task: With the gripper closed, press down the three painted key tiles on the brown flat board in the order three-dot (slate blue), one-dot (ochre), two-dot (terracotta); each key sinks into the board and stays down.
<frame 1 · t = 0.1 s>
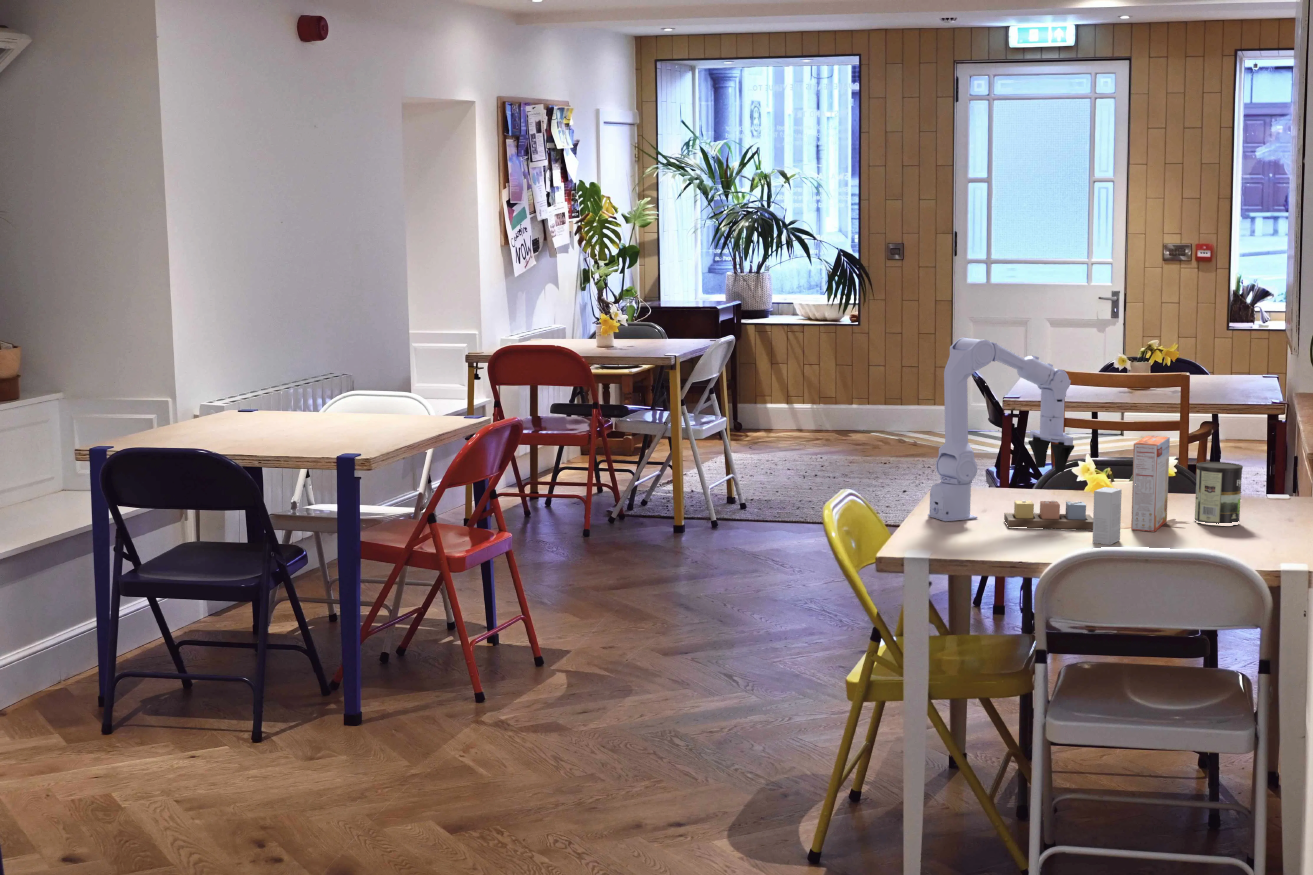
hand: (1050, 469, 351), 10 cm above the table, tool pointing down, fingers open, 7 cm apart
one dot tile: (1023, 508, 332), point 4 cm above the table, slide at 0.0 cm
brown flat board: (1049, 525, 332), on the table
two dot tile: (1049, 509, 331), point 4 cm above the table, slide at 0.0 cm
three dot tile: (1075, 509, 330), point 4 cm above the table, slide at 0.0 cm
cracker box: (1148, 527, 331), on the table
skincare box: (1105, 542, 314), on the table
coffee can: (1216, 523, 335), on the table
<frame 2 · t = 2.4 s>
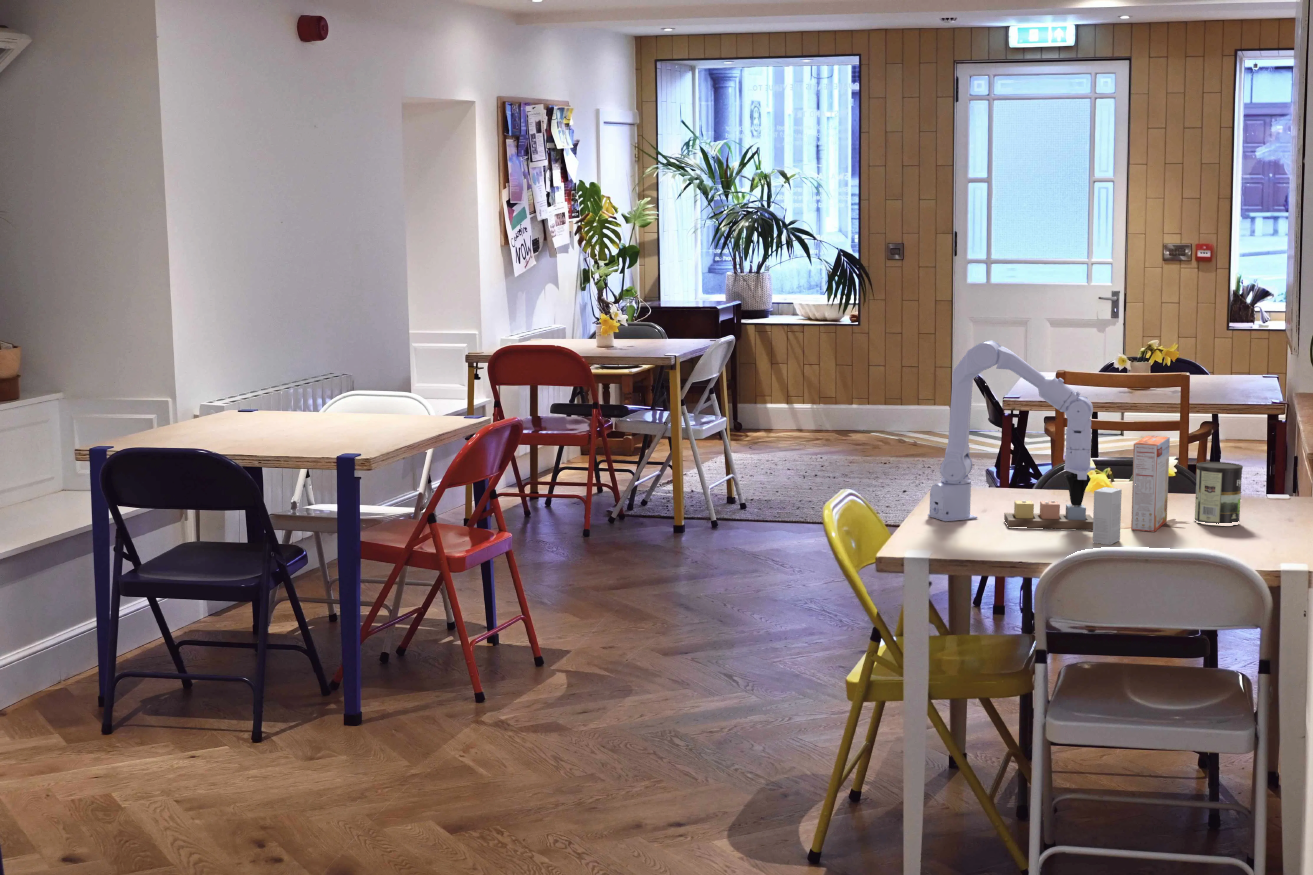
hand: (1076, 505, 330), 5 cm above the table, tool pointing down, fingers closed, pressing on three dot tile
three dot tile: (1075, 512, 331), point 3 cm above the table, slide at 0.7 cm, touching gripper
everything else where it was.
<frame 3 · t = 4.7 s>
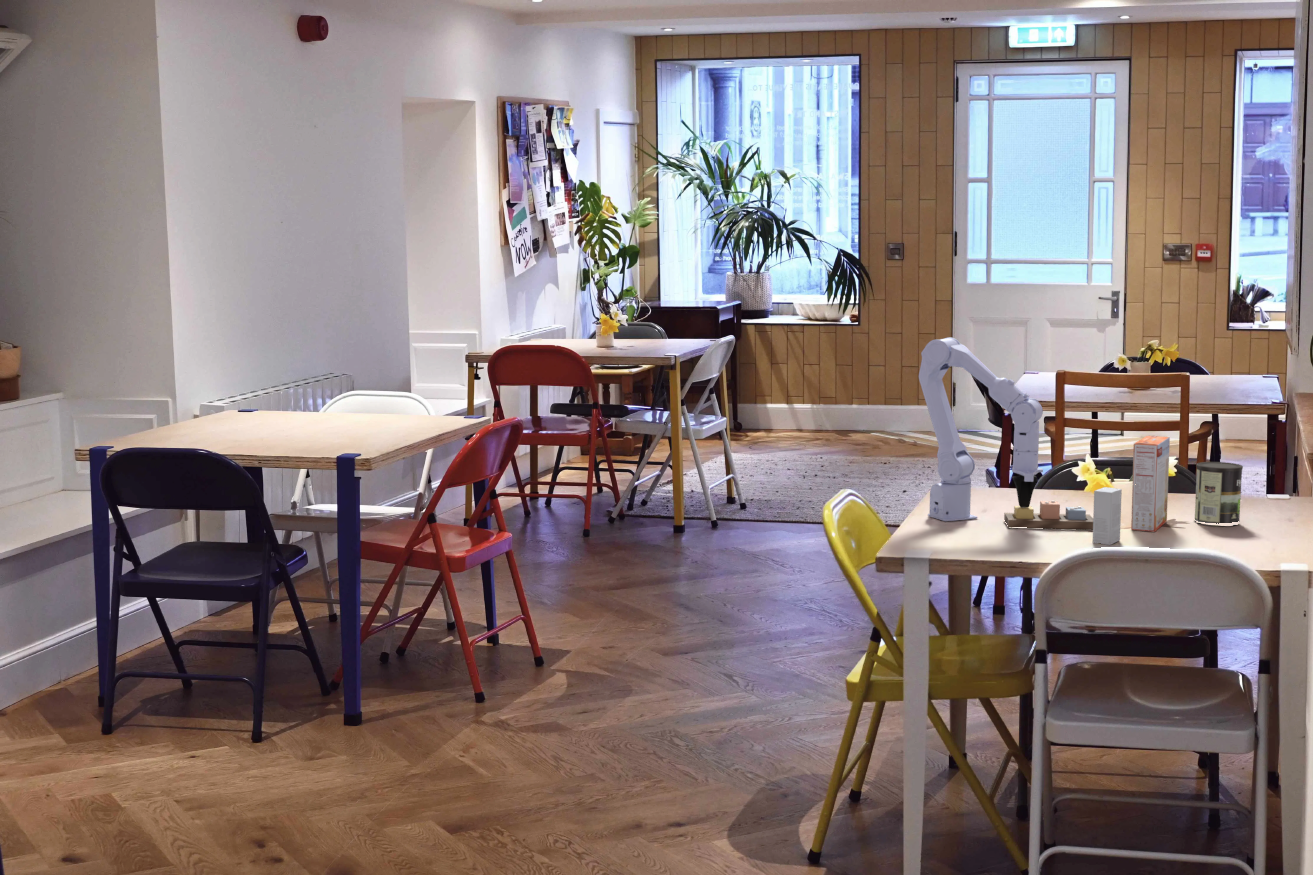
hand: (1024, 506, 332), 4 cm above the table, tool pointing down, fingers closed, pressing on one dot tile
one dot tile: (1023, 514, 332), point 3 cm above the table, slide at 1.3 cm, touching gripper
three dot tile: (1075, 515, 331), point 3 cm above the table, slide at 1.3 cm
everything else where it was.
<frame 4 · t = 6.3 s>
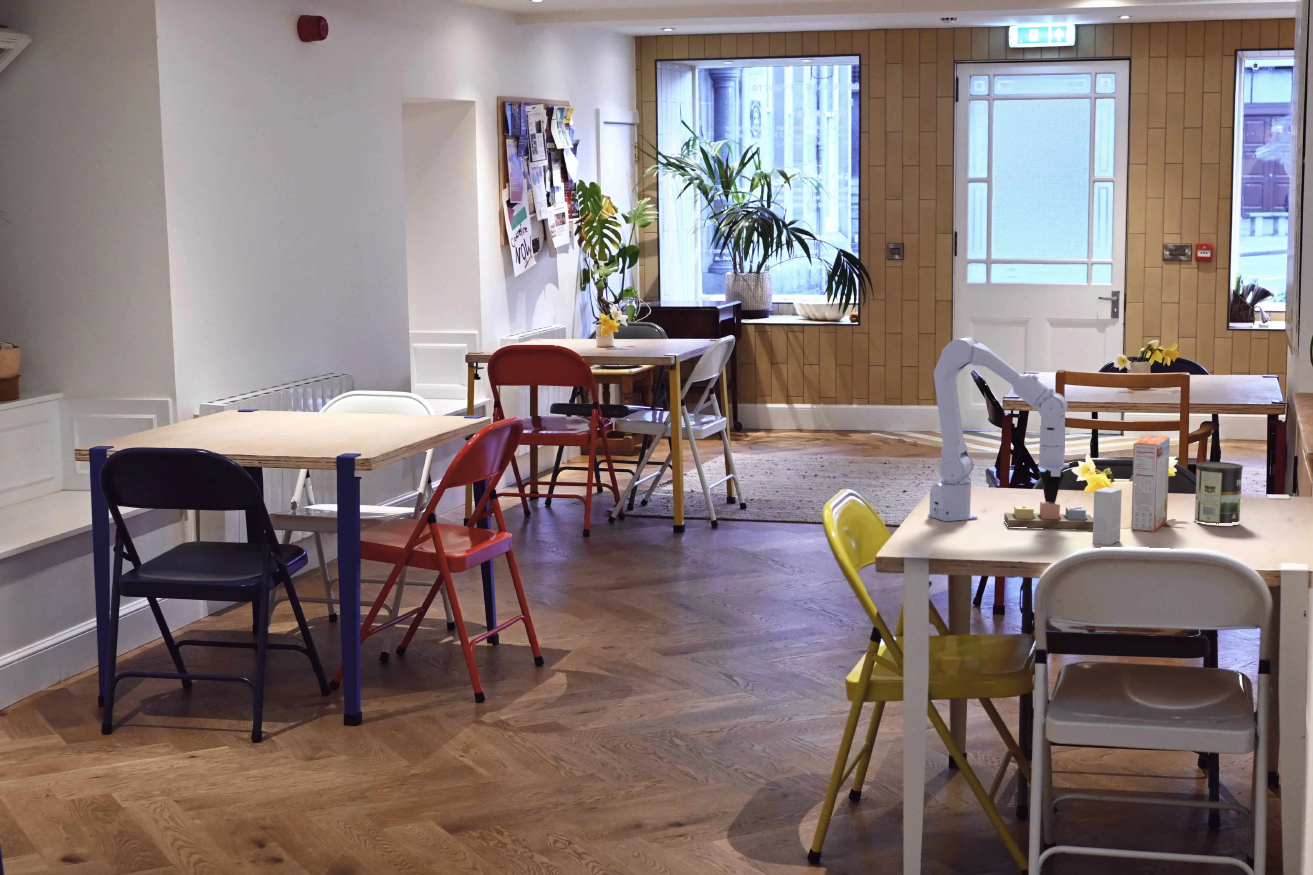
hand: (1050, 501, 331), 6 cm above the table, tool pointing down, fingers closed, pressing on two dot tile
one dot tile: (1023, 514, 332), point 3 cm above the table, slide at 1.3 cm
two dot tile: (1049, 509, 331), point 4 cm above the table, slide at 0.0 cm, touching gripper
everything else where it was.
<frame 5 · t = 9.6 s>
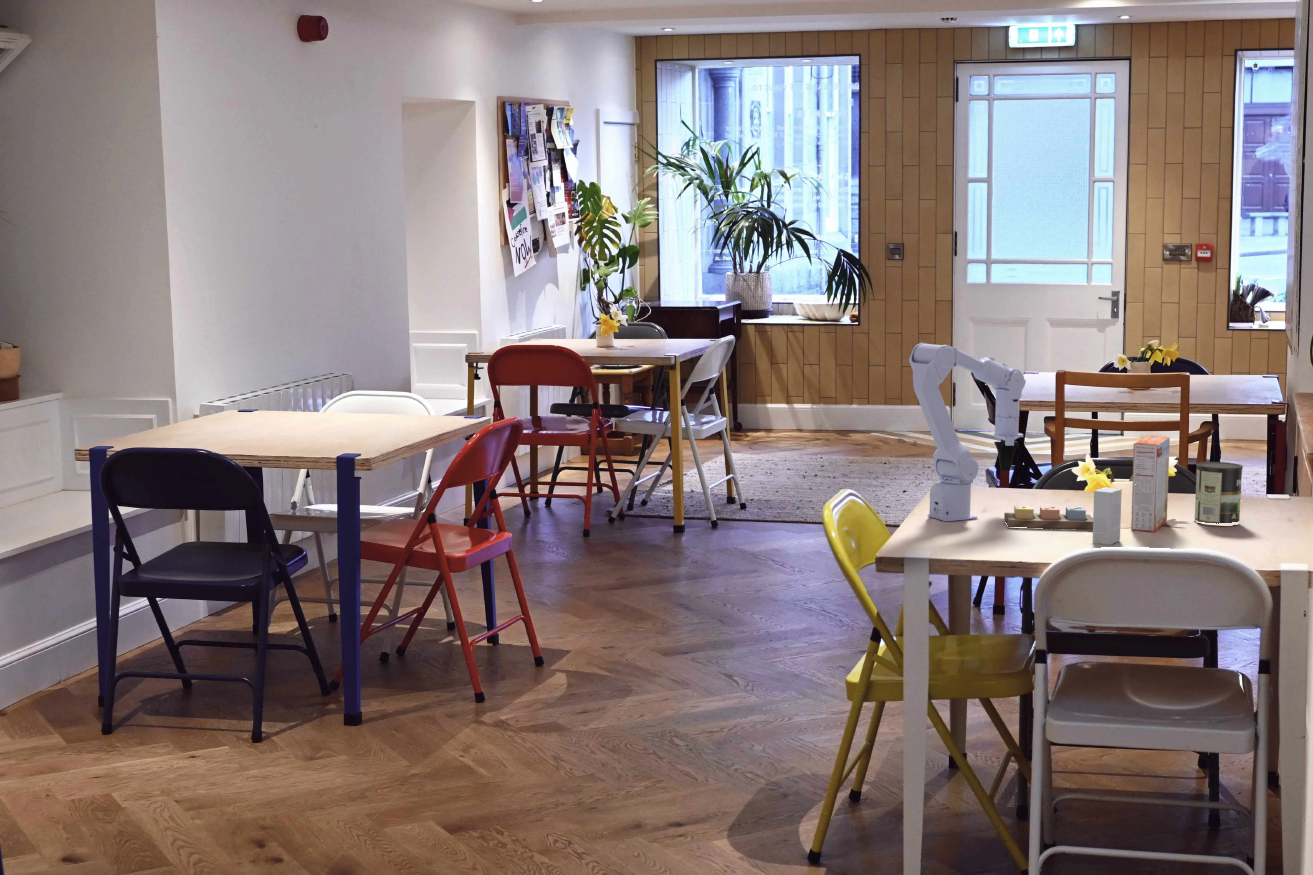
hand: (1005, 470, 348), 10 cm above the table, tool pointing down, fingers closed
two dot tile: (1049, 514, 331), point 3 cm above the table, slide at 1.3 cm
everything else where it was.
at the end: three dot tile slide at 1.3 cm; one dot tile slide at 1.3 cm; two dot tile slide at 1.3 cm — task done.
